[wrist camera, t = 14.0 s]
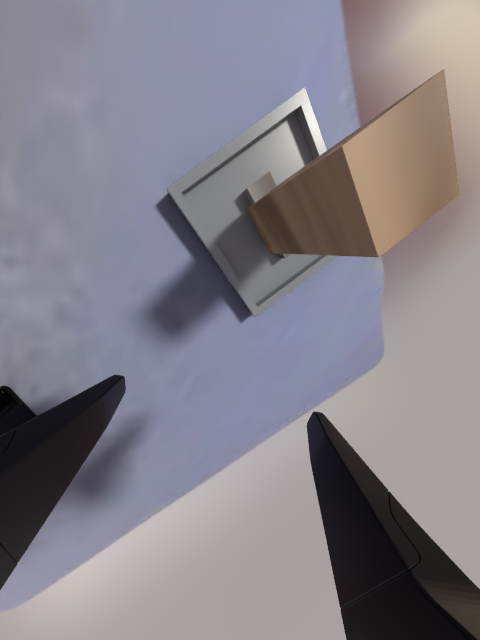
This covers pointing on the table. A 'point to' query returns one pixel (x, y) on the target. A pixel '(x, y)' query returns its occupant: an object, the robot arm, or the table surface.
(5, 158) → the table surface
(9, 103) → the table surface
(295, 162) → the box
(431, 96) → the tan slab
